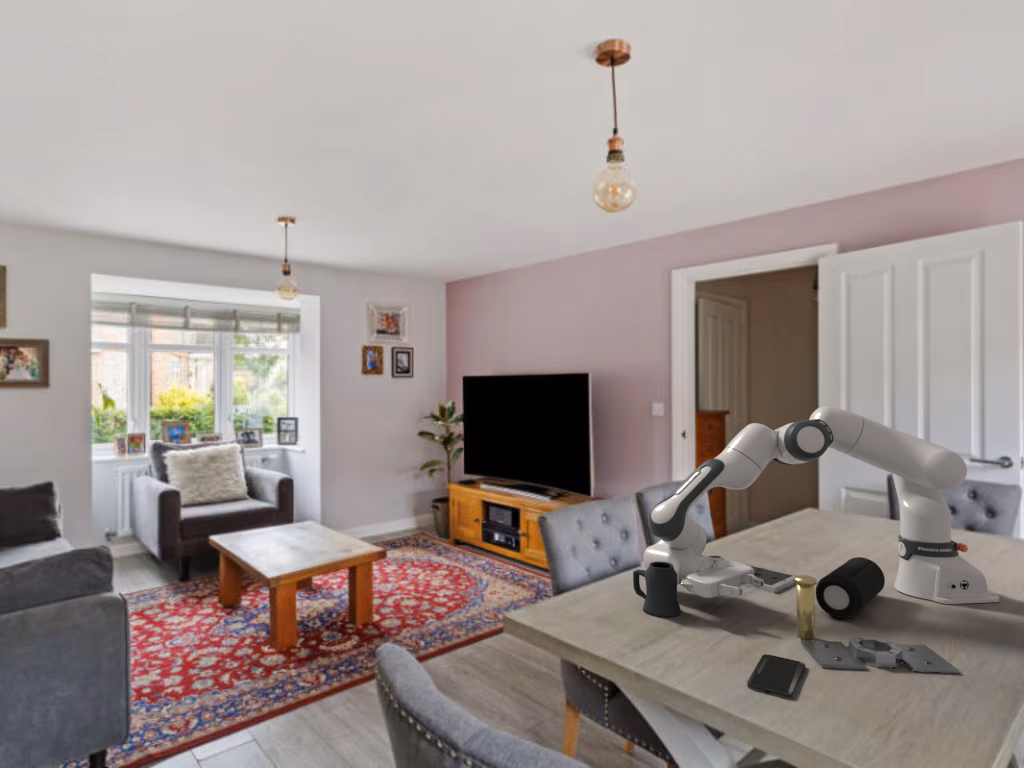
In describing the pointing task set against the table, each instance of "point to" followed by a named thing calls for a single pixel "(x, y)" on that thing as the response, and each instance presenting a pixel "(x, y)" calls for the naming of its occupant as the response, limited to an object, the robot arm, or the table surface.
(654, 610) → the mug
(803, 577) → the pin
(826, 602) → the portable speaker
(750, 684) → the phone
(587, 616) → the table surface
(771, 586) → the picture frame
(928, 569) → the robot arm
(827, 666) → the hinge body
